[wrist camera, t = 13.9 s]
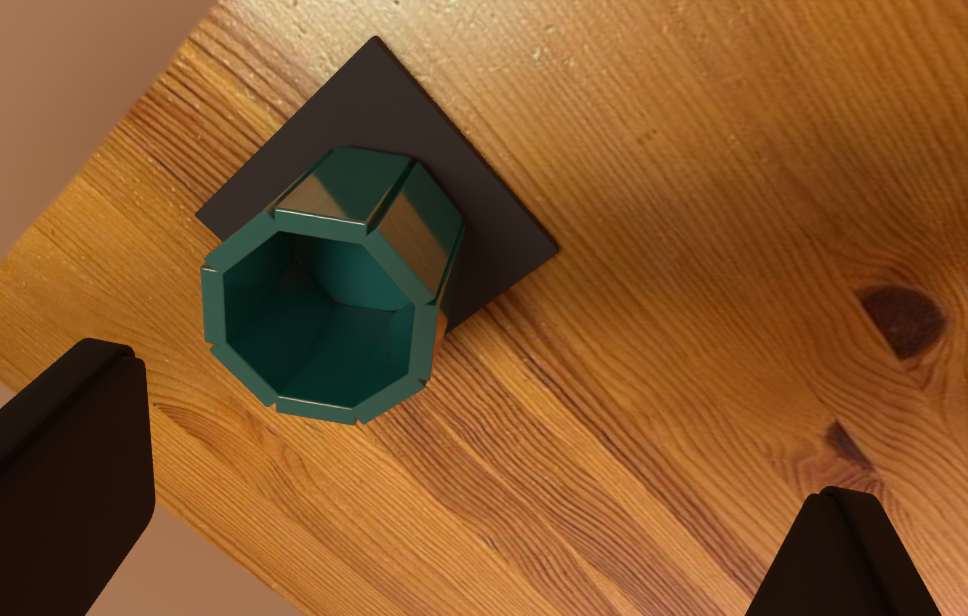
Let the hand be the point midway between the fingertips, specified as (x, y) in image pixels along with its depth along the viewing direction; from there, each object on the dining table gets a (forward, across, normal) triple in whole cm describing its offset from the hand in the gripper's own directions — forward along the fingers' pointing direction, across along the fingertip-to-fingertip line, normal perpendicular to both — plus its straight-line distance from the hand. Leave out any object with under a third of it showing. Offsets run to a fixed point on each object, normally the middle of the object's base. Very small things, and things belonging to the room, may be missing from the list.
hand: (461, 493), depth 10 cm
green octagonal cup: (+17, +5, +4) cm, 18 cm away
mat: (+18, +5, +4) cm, 19 cm away
